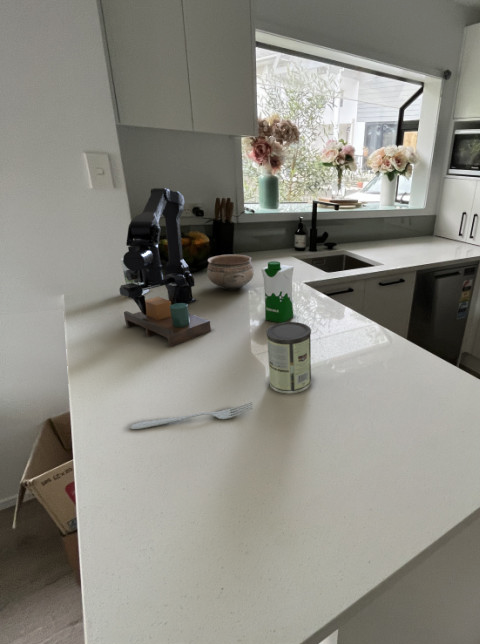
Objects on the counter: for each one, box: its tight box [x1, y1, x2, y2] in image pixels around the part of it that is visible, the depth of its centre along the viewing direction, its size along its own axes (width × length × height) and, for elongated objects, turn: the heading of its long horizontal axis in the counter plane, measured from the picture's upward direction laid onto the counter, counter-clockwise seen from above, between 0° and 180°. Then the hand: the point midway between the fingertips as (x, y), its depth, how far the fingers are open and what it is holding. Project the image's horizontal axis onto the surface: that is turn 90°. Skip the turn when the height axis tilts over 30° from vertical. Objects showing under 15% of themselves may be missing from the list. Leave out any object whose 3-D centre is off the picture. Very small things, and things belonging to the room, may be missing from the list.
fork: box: [129, 401, 253, 430], centre depth 78 cm, size 3×24×2 cm, turn 104°
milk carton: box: [261, 260, 294, 324], centre depth 126 cm, size 9×9×20 cm
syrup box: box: [120, 258, 150, 296], centre depth 148 cm, size 6×6×14 cm
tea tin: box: [170, 303, 190, 327], centre depth 114 cm, size 5×5×6 cm
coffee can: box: [265, 321, 312, 395], centre depth 90 cm, size 10×10×14 cm
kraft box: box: [145, 296, 171, 320], centre depth 120 cm, size 5×7×5 cm
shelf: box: [123, 310, 212, 347], centre depth 119 cm, size 14×24×5 cm, turn 56°
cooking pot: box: [206, 253, 255, 291], centre depth 158 cm, size 25×19×12 cm
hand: (158, 310), depth 120 cm, fingers open, 9 cm apart
